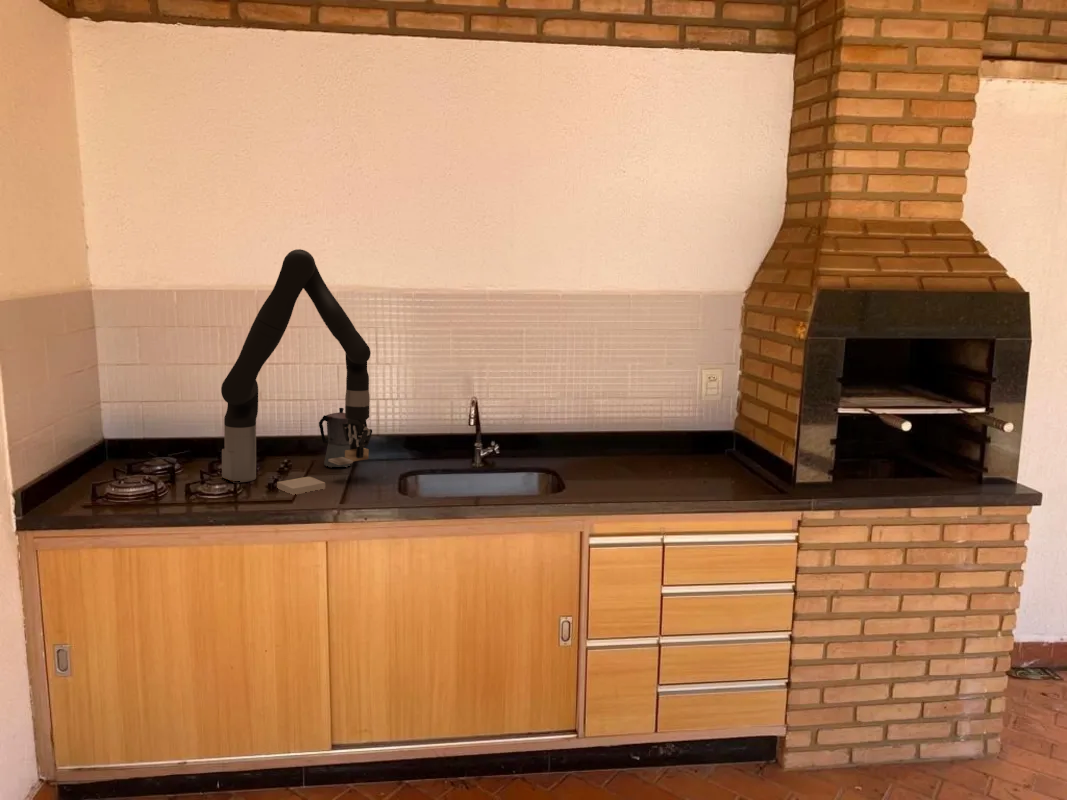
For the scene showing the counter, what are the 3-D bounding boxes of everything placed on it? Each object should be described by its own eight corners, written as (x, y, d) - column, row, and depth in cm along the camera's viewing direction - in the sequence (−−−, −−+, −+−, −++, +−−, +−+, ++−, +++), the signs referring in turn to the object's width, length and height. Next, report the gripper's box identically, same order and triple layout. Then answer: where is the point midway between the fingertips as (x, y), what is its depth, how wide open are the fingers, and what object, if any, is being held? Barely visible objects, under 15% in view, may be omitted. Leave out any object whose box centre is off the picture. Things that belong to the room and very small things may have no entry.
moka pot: (363, 464, 278) (364, 407, 275) (330, 472, 265) (331, 413, 262) (343, 459, 283) (344, 403, 280) (309, 467, 270) (310, 408, 267)
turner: (360, 456, 263) (360, 446, 263) (371, 459, 259) (371, 450, 259) (328, 461, 255) (328, 451, 254) (339, 465, 251) (339, 455, 250)
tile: (325, 490, 247) (292, 496, 239) (309, 484, 253) (277, 489, 245) (325, 482, 246) (292, 488, 238) (309, 476, 252) (277, 481, 244)
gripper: (334, 401, 258) (334, 454, 261) (360, 408, 248) (359, 462, 251) (354, 399, 263) (354, 451, 266) (380, 405, 254) (379, 459, 256)
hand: (356, 456), depth 259 cm, fingers closed on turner, 2 cm apart
